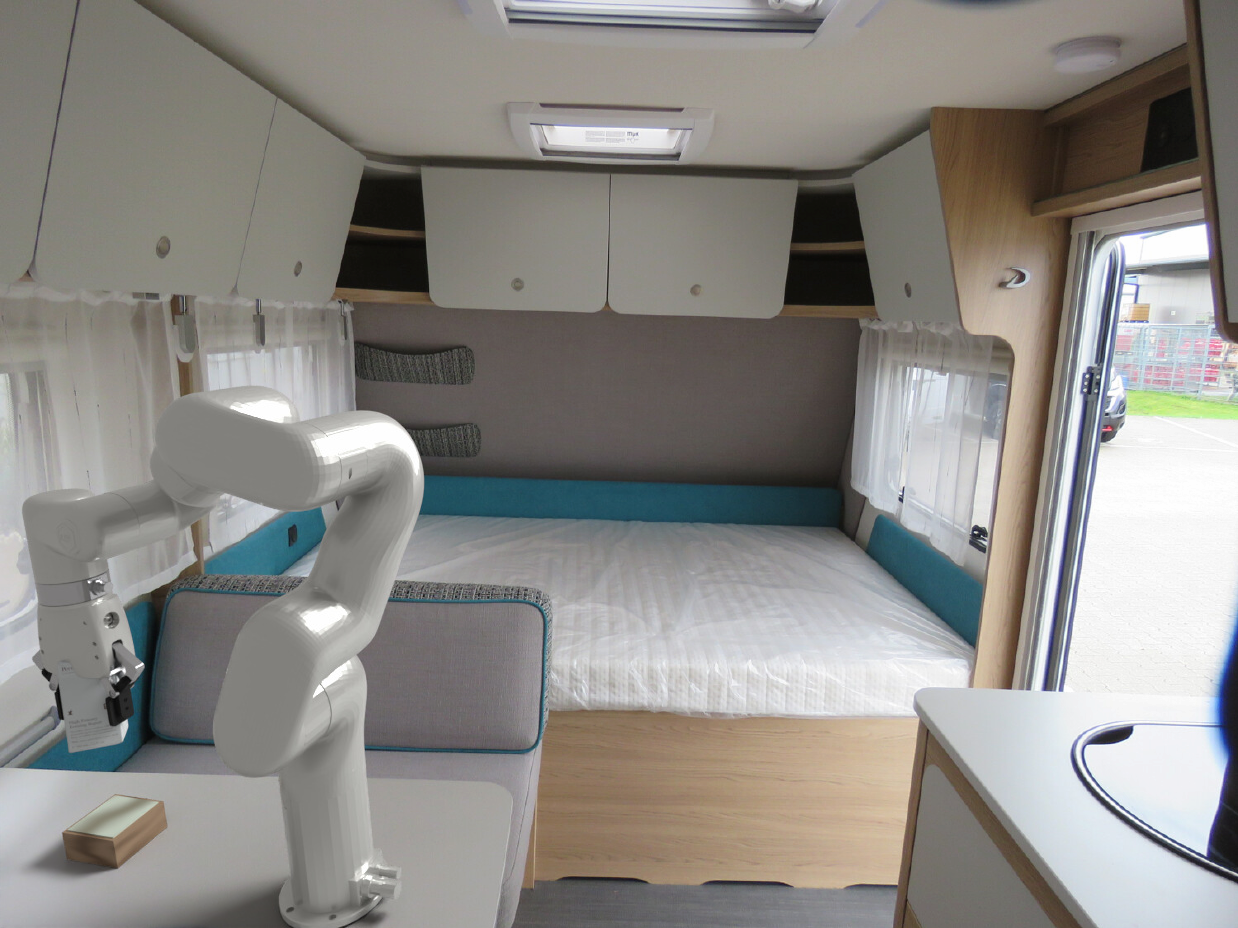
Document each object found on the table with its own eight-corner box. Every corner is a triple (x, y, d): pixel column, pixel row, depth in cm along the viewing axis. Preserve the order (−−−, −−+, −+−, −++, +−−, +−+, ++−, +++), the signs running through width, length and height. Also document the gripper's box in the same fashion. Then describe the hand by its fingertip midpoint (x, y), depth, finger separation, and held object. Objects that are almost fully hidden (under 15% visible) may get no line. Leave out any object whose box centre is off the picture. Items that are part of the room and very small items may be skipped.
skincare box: (68, 755, 94) (52, 666, 91) (76, 737, 98) (61, 651, 95) (125, 742, 96) (111, 656, 94) (131, 725, 100) (117, 642, 98)
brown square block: (167, 826, 103) (163, 800, 102) (118, 868, 96) (113, 839, 95) (119, 819, 105) (115, 792, 104) (67, 859, 97) (61, 831, 96)
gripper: (157, 582, 95) (176, 709, 98) (47, 573, 98) (69, 696, 102) (106, 604, 88) (128, 740, 91) (-12, 594, 91) (14, 726, 95)
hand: (97, 716), depth 96 cm, fingers closed on skincare box, 7 cm apart
